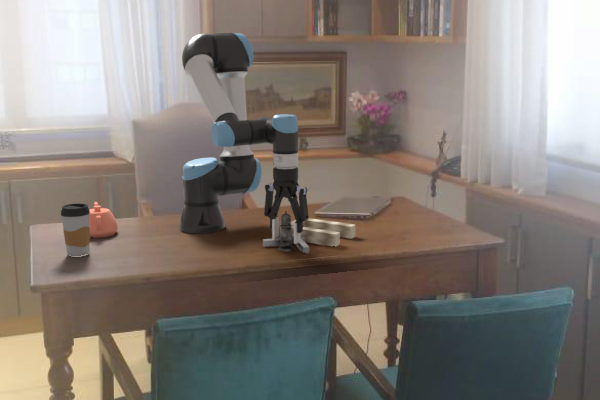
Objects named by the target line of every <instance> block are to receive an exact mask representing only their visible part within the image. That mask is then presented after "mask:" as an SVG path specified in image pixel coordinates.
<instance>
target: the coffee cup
mask: <svg viewBox="0 0 600 400" xmlns="http://www.w3.org/2000/svg"><path fill="white" fill-rule="evenodd" d="M89 209H90V208H89V205H88V204H86V203H80V202H79V203H78V202H77V203H69V204H64V205H63V206H62V207H61V210H60V216H61V222H62V228H63V229H62V230H63V231H62V232H63V235H64V236H63V237H64V243H65V248H66V254H67V255H71V256H81V255H85V254H88V253H90V243H91V242H90V239H91V238H90V227H89V213H90V211H89ZM88 255H89V254H88Z"/></svg>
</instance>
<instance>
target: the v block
mask: <svg viewBox="0 0 600 400" xmlns="http://www.w3.org/2000/svg"><path fill="white" fill-rule="evenodd" d="M295 245H296V247H297V249H298V250H299V251H300V252H301V251H302V252H303V253H306V254H309V253H310V245H308V244H307V242H306V240H305V237H301V242H299V243H297V244H295ZM280 246H281V245H280V244H279V243H278V239H277V240H272V238H266V239H265V238H263V239H262V247H264V248H270V247H271V248H273V247H280ZM302 252H301V253H302ZM308 252H309V253H308ZM303 253H302V254H303Z"/></svg>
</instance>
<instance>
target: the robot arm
mask: <svg viewBox="0 0 600 400" xmlns="http://www.w3.org/2000/svg"><path fill="white" fill-rule="evenodd" d="M253 50H254V49H253V46H252V43H251V41H250V39H249V38H248V37H247V35H245V34H243V33H237V32H224V33H223V32H217V33H215V32H214V33H208V32H207V33H205V32H203V33H199V34H197V35H194V36H193V37H191V38H190V39H189V40H188V41H187V43H186V44H185V46H184V48H183V50H182V55H181V59H182V60H181V62H182V67H183V69H184V72H185V74H186V75H187V77H189V78H191V79H192V81H193V83H194V86H195V87H196V90H197V91H198V93H199V96H200V98H201V100H202V102H203V105H204V107H205V108H206V110H207V113H208V114H209V116H210V118H211V121H212V123H213V124H211V128H210V136H211V141H212V143H213V145H215V146H216V147H217V148H218V147H219V148H223V151H222V153H221V154H219V161H218V159H217V158H216V157H200V158H195V159H192V160H188V161H187V162H186V163H184V164H183V167H182V176H181V178H182V181H183V182H182V185H183V186H182V187H183V209H182V213H181V217H180V221H179V229H180V231H181V232H184V233H188V234H210V233H216V232H220V231H222V230H224V229H225V228H226V224H225V222H226V221H225V219H224V217H223V213H222V210H221V207H220V200H219V199H220V197H221V196H222V197H223V196H230V195H238V194H240V195H241V194H242V195H243V194H247V193H253V192H255V191H257V190H258V188H259V186H260V183H261V182H262V181H261V180H262V173H263V171H262V169H263V168H262V166H261V161H260V160H259V159H258V158H256V157H255V155H254V152H253V151H252V150H251V149H250V146H251V145H253V146H254V145H263V144H270V145H272V166H273V169H272V178H273V182H272V183H267V184H265V185H264V189H265V201H264V211H263V215H264V217H268V219H269V228H270V230H271V234H272V236H271V239H272V240H277V237H278V236H280V219H279V217H278V214H279V213H278V212H279V210H280V206H281V204H282V201H283V199H284V198H285V199H287V200H288V202H289V204H290V207H291V211H292V213H293V215H294V220H296V222H294V244H293V245H296V244H297V243H299V242H301V232H302V231H303V221H306V220H308V219H309V218H310V217H309V209H308V199H307V194H308V188H307V187H301V186H300V185H299V183H298V180H299V168H298V166H299V126H298V116H297V115H295V114H289V113H281V114H280V113H279V114H275V115H273V116H272V118H271V117H265V116H264V117H259V118H257V119H247V118H248V117H247V104H246V103H247V102H246V91H245V89H246V88H245V77H246V76H247V74H248V73H249V71H248V70H249V68H251V67H252V66H253V63H254V51H253ZM274 190H275V191H274ZM274 193H275V194H274Z"/></svg>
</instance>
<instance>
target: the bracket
mask: <svg viewBox="0 0 600 400" xmlns="http://www.w3.org/2000/svg"><path fill="white" fill-rule="evenodd" d="M294 222H296V219H294V220H293V221H291V225H292V226H291V234H292V236H294ZM279 231H281V226H280V225H279ZM301 237H305V240H306V244H307V243H309V244H314V245H315V244H316V245H320V246H326V245H327V247H333V246H335V247H334V248H336V247H338V246H340V244H341V243H340V241H341V238H344V239H354V238H356V224H355V223H354V224H353V223H347V222H340V221H332V220H325V219H318V218H311V217H309V219H308V220H306V221H303V231H302V232H301Z"/></svg>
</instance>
